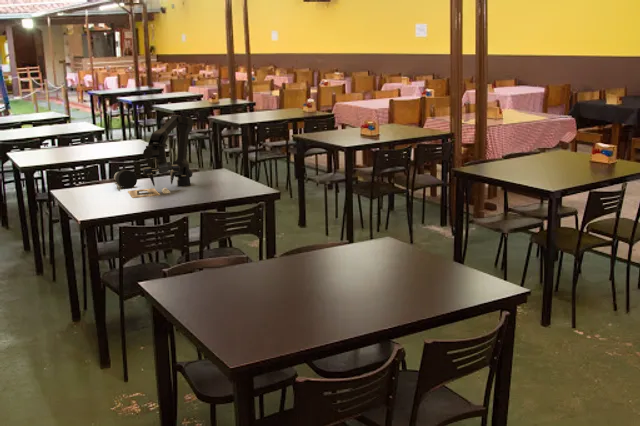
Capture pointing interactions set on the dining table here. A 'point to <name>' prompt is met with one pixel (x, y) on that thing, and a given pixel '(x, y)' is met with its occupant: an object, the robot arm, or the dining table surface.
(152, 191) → the board
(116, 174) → the black cylinder
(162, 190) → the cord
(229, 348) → the dining table surface
